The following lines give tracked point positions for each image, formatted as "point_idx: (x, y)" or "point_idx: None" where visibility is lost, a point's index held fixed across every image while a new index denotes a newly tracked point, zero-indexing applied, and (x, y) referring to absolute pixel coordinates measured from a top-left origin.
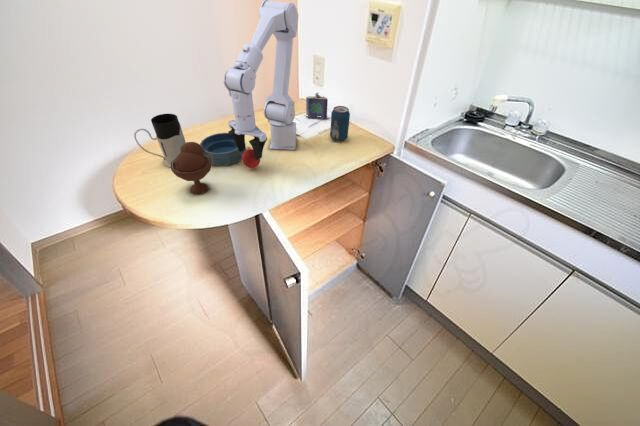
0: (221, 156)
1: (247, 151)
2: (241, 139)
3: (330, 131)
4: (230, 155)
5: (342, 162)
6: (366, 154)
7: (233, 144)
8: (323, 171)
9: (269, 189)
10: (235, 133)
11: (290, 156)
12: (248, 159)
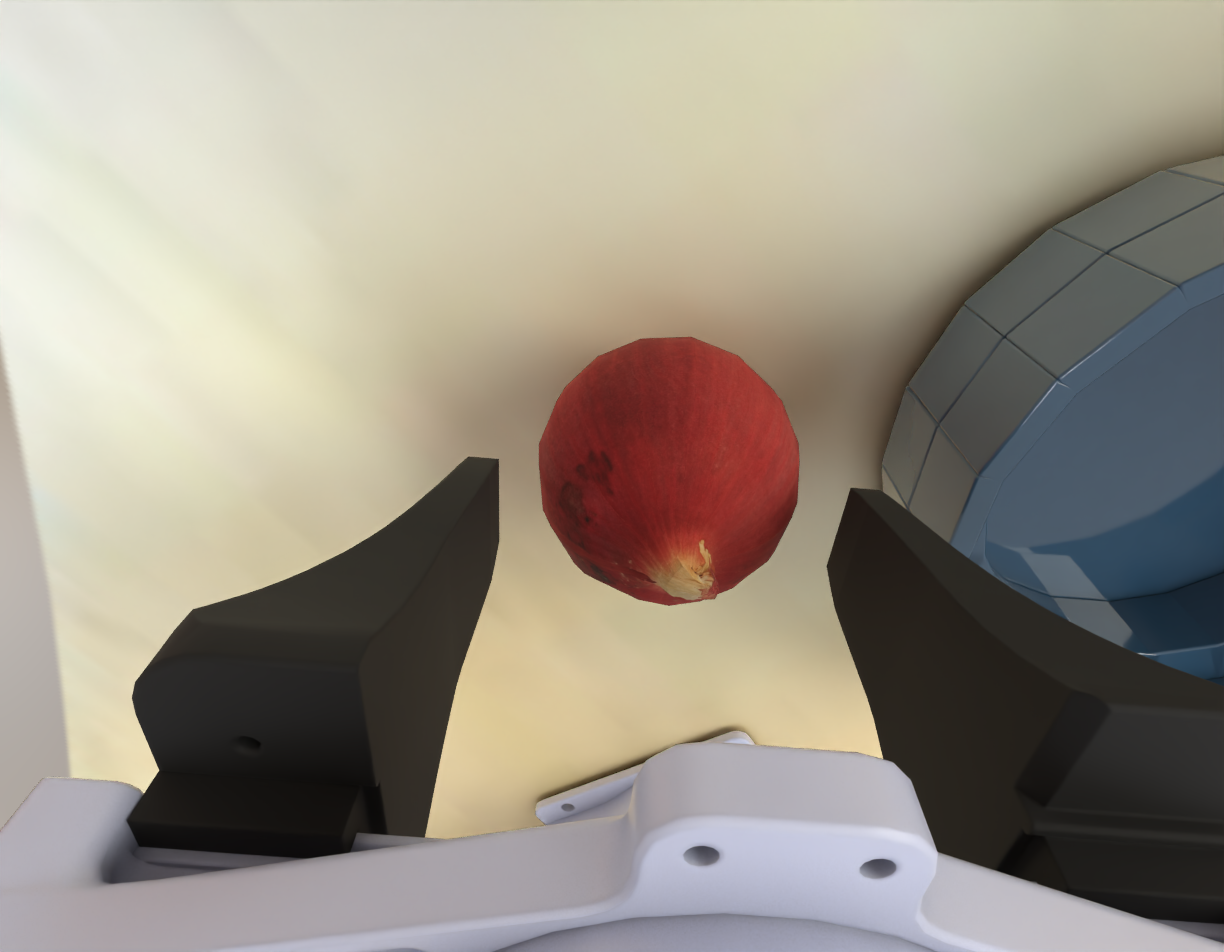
0: (1138, 274)
1: (682, 518)
2: (902, 686)
3: None
4: (1004, 382)
5: None
6: None
7: (1146, 623)
8: (97, 689)
9: (160, 172)
10: (844, 757)
11: (496, 724)
12: (611, 406)
